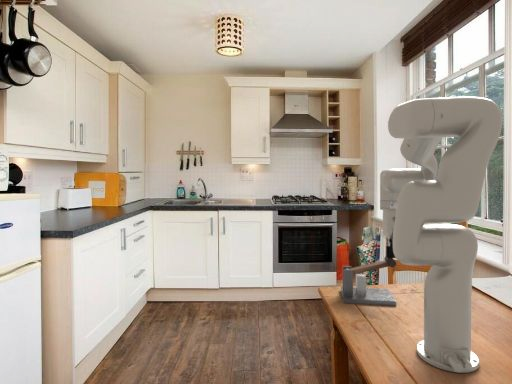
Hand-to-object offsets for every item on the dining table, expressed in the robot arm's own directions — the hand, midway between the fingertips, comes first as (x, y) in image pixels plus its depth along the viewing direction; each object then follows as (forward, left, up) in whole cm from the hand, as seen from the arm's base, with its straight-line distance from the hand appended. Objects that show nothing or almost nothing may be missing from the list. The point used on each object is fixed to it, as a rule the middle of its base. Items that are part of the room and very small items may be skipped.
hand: (391, 257), depth 110 cm
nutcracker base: (-1, +8, -15) cm, 17 cm away
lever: (-1, +7, -5) cm, 9 cm away
